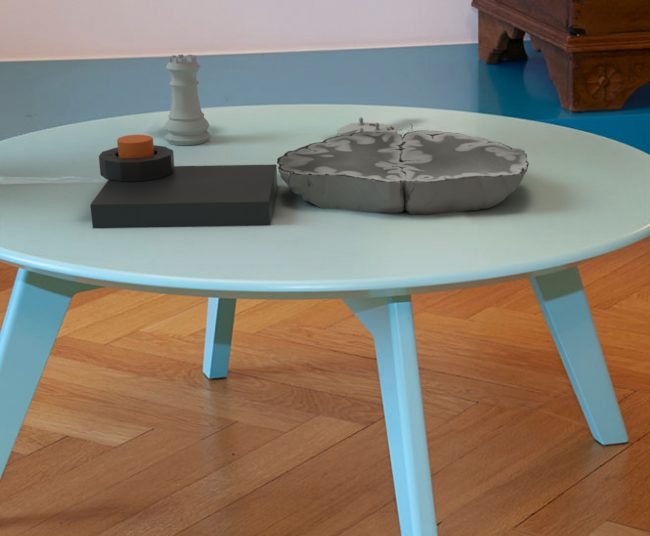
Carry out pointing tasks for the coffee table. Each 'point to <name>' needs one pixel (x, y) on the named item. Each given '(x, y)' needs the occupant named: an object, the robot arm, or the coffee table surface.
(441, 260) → the coffee table surface
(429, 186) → the brain slice
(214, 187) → the scale
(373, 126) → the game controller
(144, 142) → the button
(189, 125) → the rook chess piece
